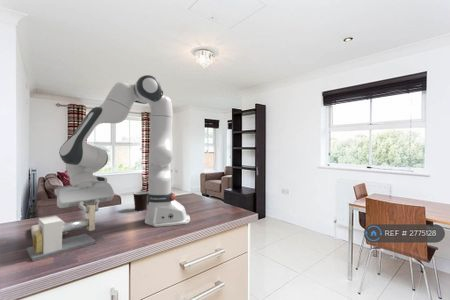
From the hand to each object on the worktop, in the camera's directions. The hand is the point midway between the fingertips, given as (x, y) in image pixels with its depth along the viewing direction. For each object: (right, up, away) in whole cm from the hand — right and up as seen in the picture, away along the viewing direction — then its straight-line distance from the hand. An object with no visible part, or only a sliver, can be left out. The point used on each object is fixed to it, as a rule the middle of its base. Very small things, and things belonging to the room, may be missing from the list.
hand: (91, 211), depth 88 cm
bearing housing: (-7, -11, -7) cm, 15 cm away
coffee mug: (+2, -12, +44) cm, 45 cm away
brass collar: (-11, -10, -12) cm, 19 cm away
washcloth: (-23, -12, +8) cm, 27 cm away
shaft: (-5, -7, -5) cm, 10 cm away
